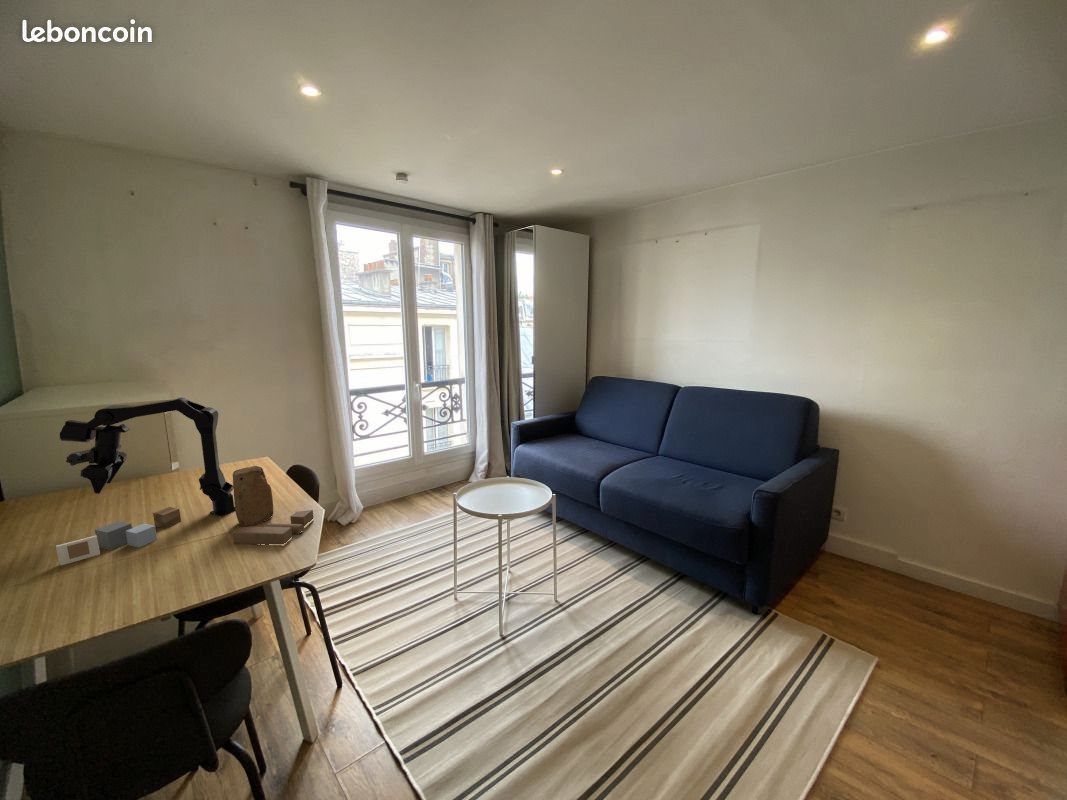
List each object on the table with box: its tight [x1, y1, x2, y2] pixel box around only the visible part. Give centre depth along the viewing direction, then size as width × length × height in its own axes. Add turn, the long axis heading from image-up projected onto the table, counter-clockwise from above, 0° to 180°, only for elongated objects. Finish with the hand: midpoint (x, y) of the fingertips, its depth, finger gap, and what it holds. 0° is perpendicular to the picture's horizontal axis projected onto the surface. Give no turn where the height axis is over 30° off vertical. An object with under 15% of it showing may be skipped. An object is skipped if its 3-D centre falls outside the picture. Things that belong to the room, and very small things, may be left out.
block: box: [232, 465, 274, 527], centre depth 143 cm, size 11×8×20 cm
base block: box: [94, 520, 133, 551], centre depth 128 cm, size 6×6×6 cm
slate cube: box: [125, 523, 158, 549], centre depth 129 cm, size 5×5×5 cm
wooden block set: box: [232, 509, 315, 546], centre depth 137 cm, size 17×6×18 cm
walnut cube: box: [152, 506, 182, 529], centre depth 141 cm, size 5×5×5 cm
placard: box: [55, 534, 101, 566], centre depth 119 cm, size 1×8×6 cm, turn 139°
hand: (102, 488), depth 135 cm, fingers open, 9 cm apart
